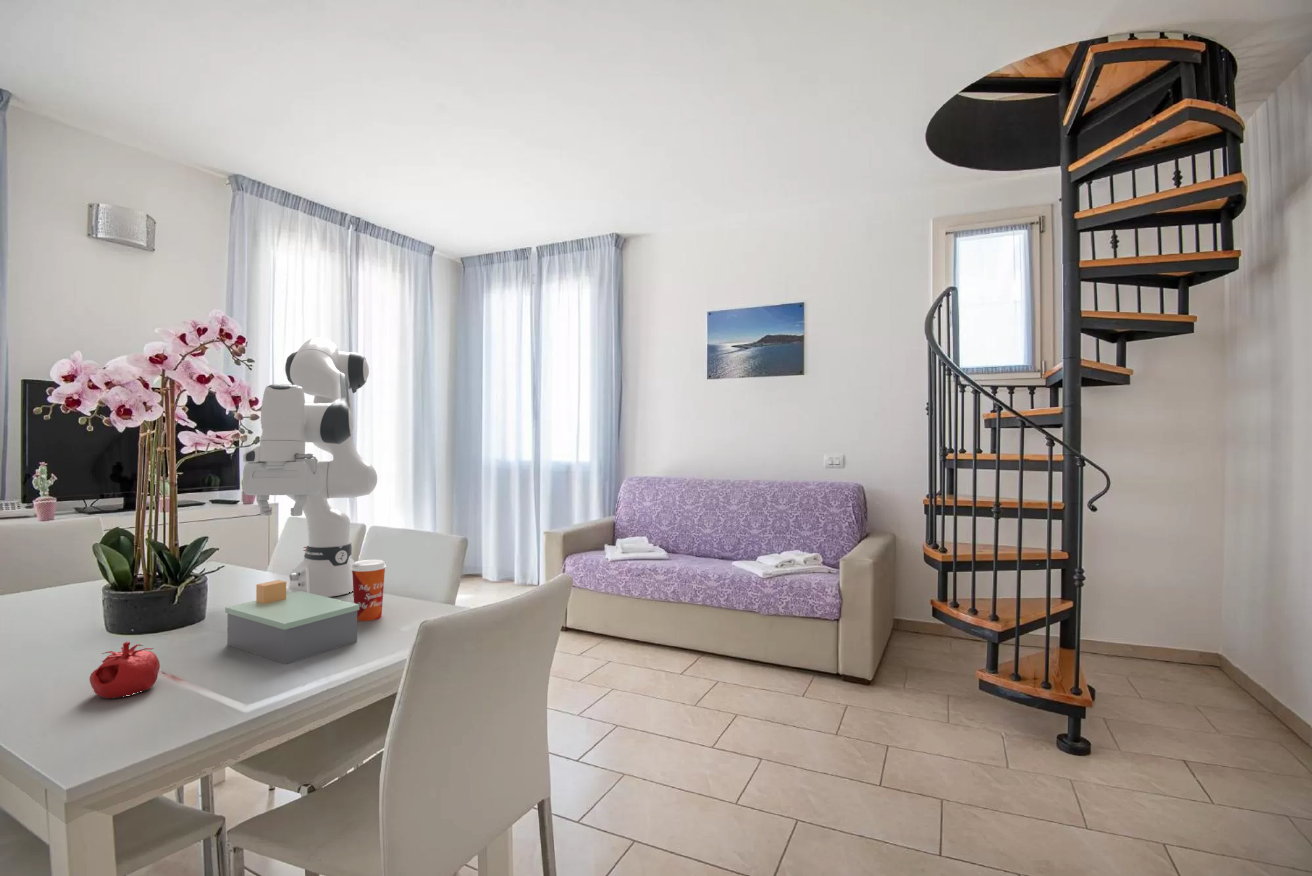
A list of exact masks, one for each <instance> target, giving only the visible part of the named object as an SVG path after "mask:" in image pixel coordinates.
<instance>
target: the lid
mask: <svg viewBox="0 0 1312 876" xmlns="http://www.w3.org/2000/svg"><path fill="white" fill-rule="evenodd" d="M286 585H287V581H285V580H281V579H277V580H273V581H267V582H262V583H261V582H260V583H256V587H255V588H256V593H255V594H256V598H255V599H256V600H253V601H248V602H243V603H238V604H234V605H231V606H225V610H224V611H225V614H227V615H228V614H231V615H235V616H238V617H242V618H245V619H249V620H252V621H256V622H259V623H263V624H266V625H270V626H273V627H277V628H280V629H284V630H286V629H289V628H293V627H297V626H301V625H304V624H308V623H312V622H316V621H319V620H323V619H327V618H331V617H334V616H338V615H342V614H345V613H349V612H353V611H357V610H359V604H355V603H354V602H350V601H346V600H342V599H338V598H333V597H325V596H320V595H316V594H311V593H307V592H303V591H297V592H293V593H288V594H287V593H286Z"/></svg>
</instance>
